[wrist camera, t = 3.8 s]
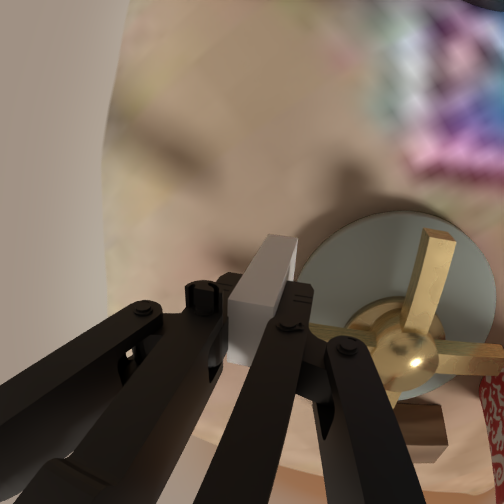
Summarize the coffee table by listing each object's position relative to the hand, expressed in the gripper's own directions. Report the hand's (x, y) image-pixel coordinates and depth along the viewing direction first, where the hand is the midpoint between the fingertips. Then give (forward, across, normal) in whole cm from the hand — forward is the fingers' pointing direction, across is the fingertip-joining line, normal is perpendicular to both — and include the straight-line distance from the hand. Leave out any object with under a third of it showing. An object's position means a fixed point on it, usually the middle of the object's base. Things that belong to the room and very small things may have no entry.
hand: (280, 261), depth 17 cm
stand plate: (+6, +8, -6) cm, 12 cm away
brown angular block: (+6, +12, -17) cm, 22 cm away
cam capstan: (+5, +8, -6) cm, 11 cm away
